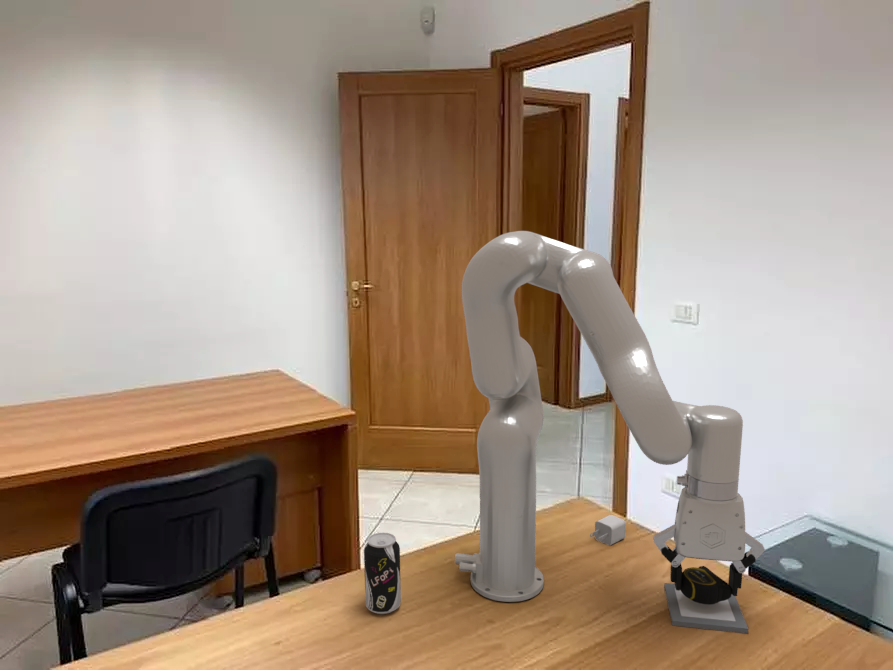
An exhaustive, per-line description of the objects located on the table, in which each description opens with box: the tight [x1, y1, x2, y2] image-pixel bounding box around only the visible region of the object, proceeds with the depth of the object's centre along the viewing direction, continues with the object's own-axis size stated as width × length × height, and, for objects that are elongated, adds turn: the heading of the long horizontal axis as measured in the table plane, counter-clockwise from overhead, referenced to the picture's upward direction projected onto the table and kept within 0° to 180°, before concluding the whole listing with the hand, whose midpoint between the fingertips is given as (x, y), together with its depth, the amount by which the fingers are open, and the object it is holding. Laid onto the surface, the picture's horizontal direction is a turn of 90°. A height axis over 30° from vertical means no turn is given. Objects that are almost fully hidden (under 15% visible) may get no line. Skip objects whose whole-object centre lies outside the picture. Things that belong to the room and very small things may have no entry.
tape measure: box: [681, 565, 732, 605], centre depth 109 cm, size 7×7×4 cm
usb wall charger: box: [589, 514, 627, 547], centre depth 131 cm, size 4×7×4 cm, turn 130°
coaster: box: [663, 582, 749, 634], centre depth 109 cm, size 11×11×1 cm
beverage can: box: [363, 532, 402, 615], centre depth 109 cm, size 6×6×12 cm
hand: (704, 588), depth 109 cm, fingers closed on tape measure, 7 cm apart
